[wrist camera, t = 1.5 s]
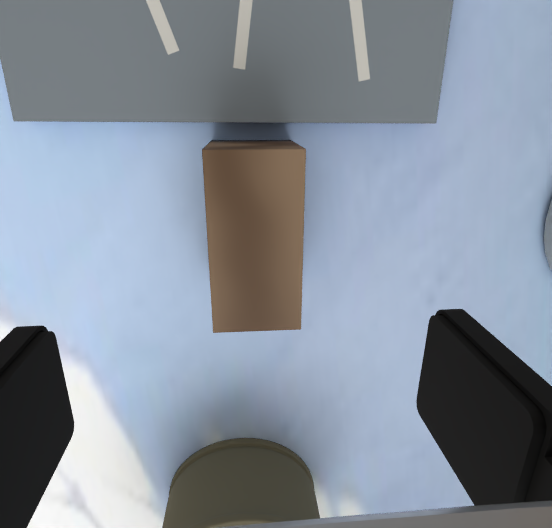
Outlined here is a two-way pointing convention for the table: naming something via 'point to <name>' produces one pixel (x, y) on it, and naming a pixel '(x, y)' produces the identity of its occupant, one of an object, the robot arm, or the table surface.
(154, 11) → the board
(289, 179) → the block
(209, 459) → the can
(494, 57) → the table surface
